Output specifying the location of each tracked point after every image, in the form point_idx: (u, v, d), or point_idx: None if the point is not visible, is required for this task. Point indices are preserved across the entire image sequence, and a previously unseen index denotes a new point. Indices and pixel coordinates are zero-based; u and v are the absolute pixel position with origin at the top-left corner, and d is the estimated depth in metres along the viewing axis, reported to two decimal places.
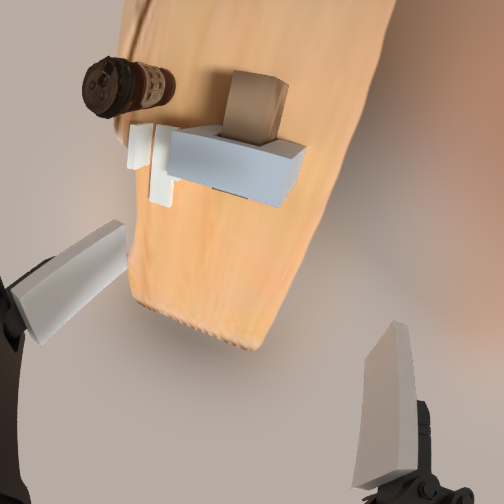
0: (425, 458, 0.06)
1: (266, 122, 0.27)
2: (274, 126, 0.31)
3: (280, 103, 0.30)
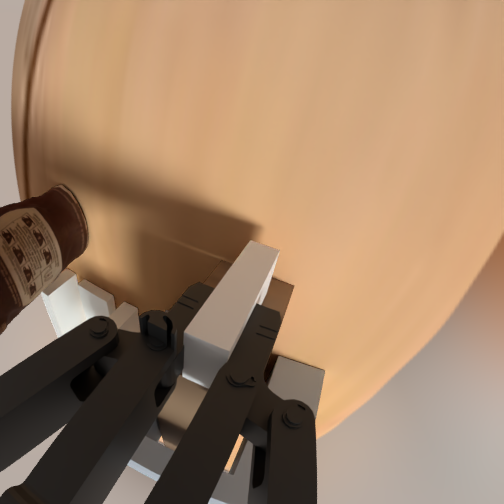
0: (259, 357, 0.09)
1: None
2: None
3: None
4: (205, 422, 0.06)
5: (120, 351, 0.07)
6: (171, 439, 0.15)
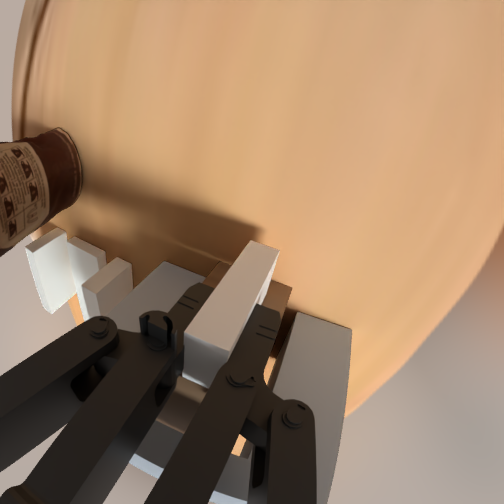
0: (259, 357, 0.09)
1: None
2: None
3: None
4: (205, 422, 0.06)
5: (120, 351, 0.07)
6: None
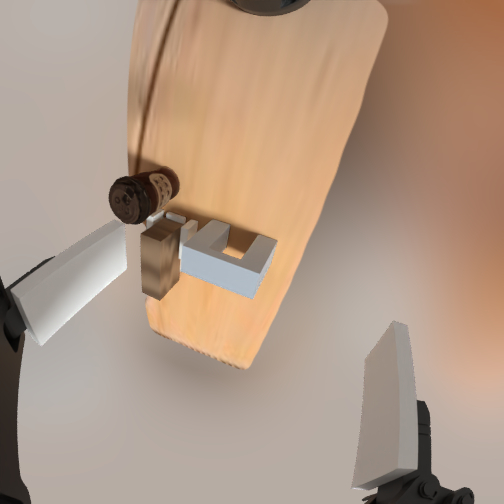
0: (425, 458, 0.06)
1: (162, 263, 0.50)
2: (174, 255, 0.54)
3: (175, 241, 0.52)
4: None
5: None
6: (144, 278, 0.52)
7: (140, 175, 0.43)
